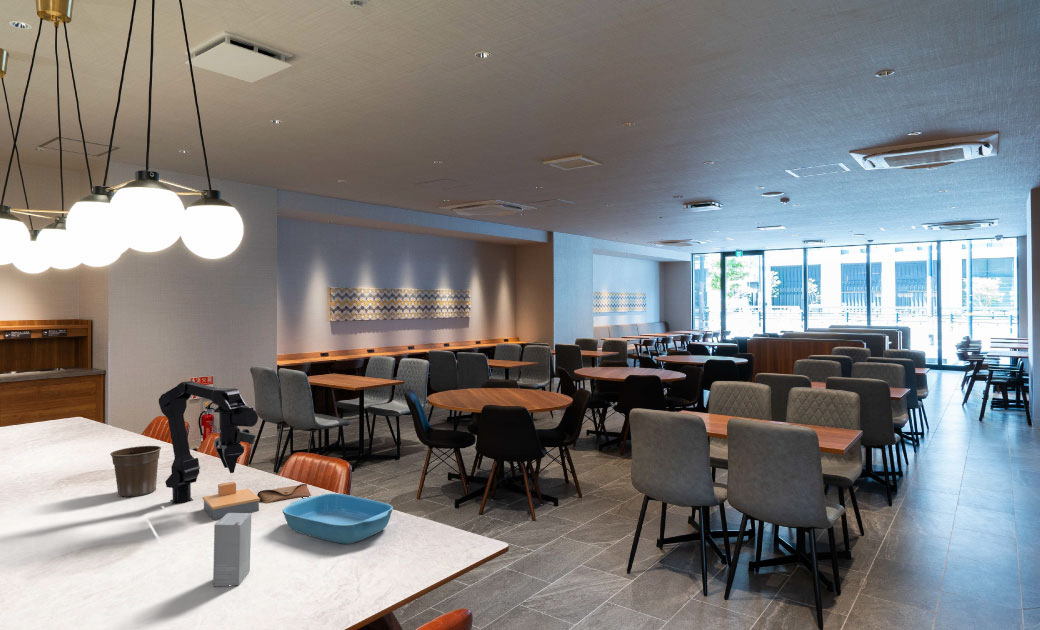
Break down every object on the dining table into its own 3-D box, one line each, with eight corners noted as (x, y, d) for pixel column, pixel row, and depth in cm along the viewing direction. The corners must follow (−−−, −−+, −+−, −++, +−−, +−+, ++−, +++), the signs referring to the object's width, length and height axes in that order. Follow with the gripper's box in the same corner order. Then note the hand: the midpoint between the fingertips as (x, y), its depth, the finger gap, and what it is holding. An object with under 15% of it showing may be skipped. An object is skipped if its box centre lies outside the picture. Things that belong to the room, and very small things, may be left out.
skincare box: (225, 573, 156) (224, 512, 156) (253, 572, 157) (252, 511, 157) (211, 588, 148) (210, 523, 147) (241, 586, 148) (240, 522, 148)
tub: (203, 510, 206) (203, 499, 206) (247, 502, 214) (247, 491, 214) (213, 521, 195) (213, 509, 195) (258, 512, 204) (258, 500, 204)
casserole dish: (268, 530, 187) (268, 507, 187) (325, 509, 206) (325, 488, 206) (352, 554, 168) (352, 528, 168) (407, 529, 187) (407, 506, 187)
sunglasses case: (262, 506, 210) (260, 487, 212) (258, 512, 214) (255, 493, 217) (314, 496, 220) (311, 479, 223) (309, 502, 225) (306, 485, 228)
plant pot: (100, 496, 223) (99, 453, 223) (142, 484, 238) (141, 444, 238) (130, 501, 217) (130, 456, 217) (171, 489, 232) (171, 447, 232)
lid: (202, 501, 206) (202, 486, 206) (248, 493, 215) (247, 478, 215) (212, 512, 194) (212, 496, 194) (259, 503, 204) (259, 487, 203)
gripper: (260, 426, 206) (260, 472, 206) (247, 419, 221) (247, 461, 221) (224, 430, 199) (225, 477, 199) (213, 422, 214) (214, 466, 214)
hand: (229, 470), depth 209 cm, fingers open, 9 cm apart
